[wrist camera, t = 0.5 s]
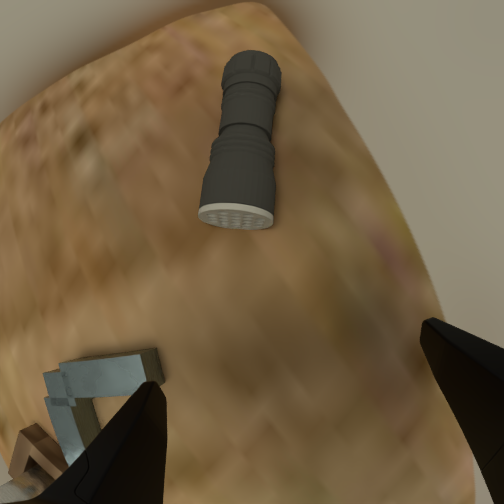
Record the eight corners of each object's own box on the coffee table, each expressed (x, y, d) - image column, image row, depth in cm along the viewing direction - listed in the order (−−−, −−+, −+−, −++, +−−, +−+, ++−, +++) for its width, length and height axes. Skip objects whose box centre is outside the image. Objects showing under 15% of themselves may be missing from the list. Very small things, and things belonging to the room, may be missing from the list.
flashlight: (227, 80, 28) (220, 44, 22) (281, 82, 27) (283, 45, 22) (205, 227, 25) (190, 208, 20) (272, 231, 25) (273, 213, 20)
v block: (177, 362, 24) (163, 371, 20) (106, 474, 22) (90, 490, 18) (97, 301, 25) (76, 300, 21) (42, 418, 23) (22, 427, 20)
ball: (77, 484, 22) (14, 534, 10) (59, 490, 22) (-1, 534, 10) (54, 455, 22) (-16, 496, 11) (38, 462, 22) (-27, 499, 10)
